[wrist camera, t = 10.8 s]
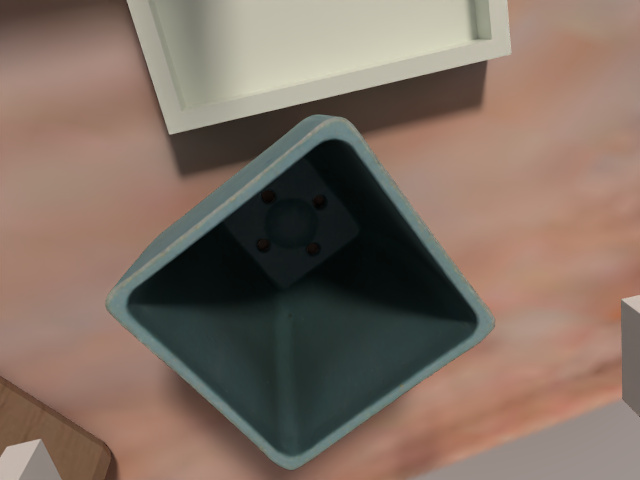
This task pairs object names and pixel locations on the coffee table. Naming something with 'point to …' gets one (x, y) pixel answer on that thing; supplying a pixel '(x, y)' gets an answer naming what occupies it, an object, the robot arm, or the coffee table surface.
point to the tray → (302, 49)
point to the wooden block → (51, 435)
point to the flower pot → (302, 294)
